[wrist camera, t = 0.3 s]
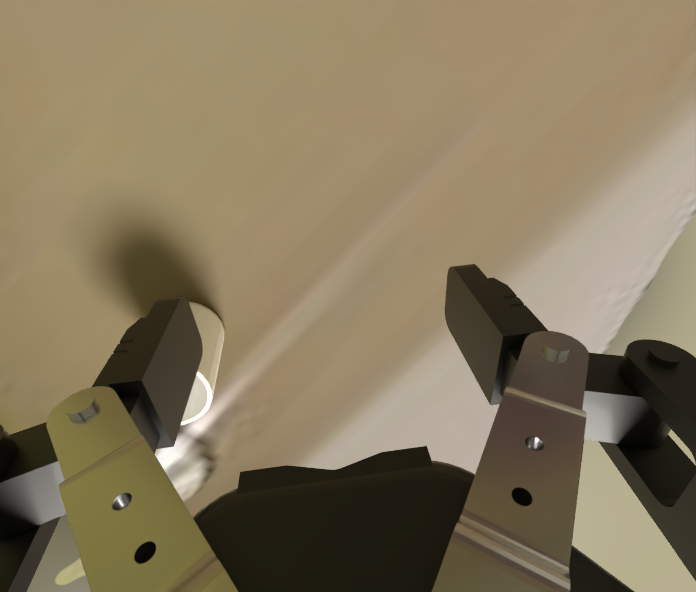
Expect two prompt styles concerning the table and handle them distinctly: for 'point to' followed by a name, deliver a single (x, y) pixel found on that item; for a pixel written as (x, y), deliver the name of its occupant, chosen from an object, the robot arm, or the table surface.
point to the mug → (205, 362)
